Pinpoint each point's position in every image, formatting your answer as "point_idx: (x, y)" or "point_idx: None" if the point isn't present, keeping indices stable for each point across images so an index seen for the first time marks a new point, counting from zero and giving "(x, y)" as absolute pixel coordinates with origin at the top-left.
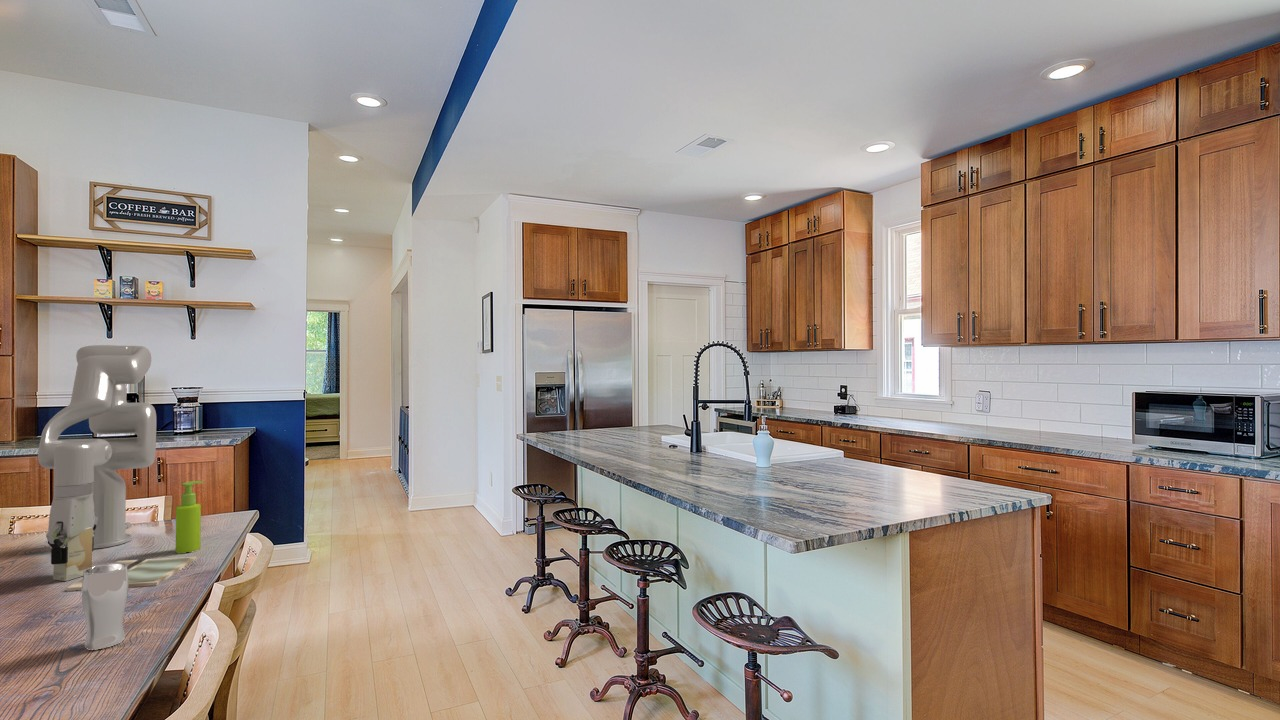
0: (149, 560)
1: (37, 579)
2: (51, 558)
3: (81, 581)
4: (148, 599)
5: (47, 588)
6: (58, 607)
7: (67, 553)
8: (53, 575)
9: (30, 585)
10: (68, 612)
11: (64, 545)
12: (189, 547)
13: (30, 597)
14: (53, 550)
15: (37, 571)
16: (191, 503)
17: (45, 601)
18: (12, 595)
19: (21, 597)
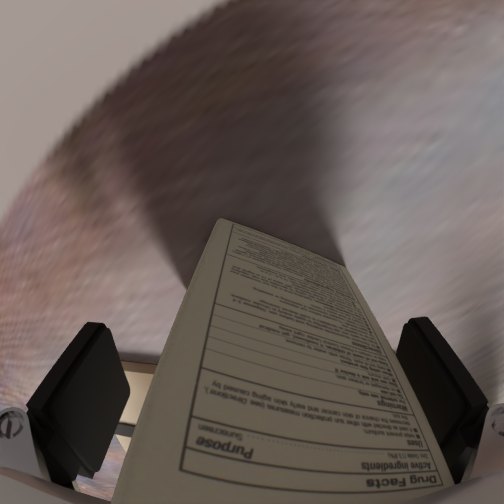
0: None
1: (257, 106)
2: (70, 346)
3: (146, 381)
4: (90, 481)
5: (103, 270)
6: (10, 380)
7: (105, 439)
8: (214, 226)
9: (148, 148)
10: (6, 402)
11: (67, 480)
12: None
13: (25, 271)
14: (29, 412)
15: (412, 27)
16: None
17: (18, 337)
18: (33, 180)
19: (21, 238)
